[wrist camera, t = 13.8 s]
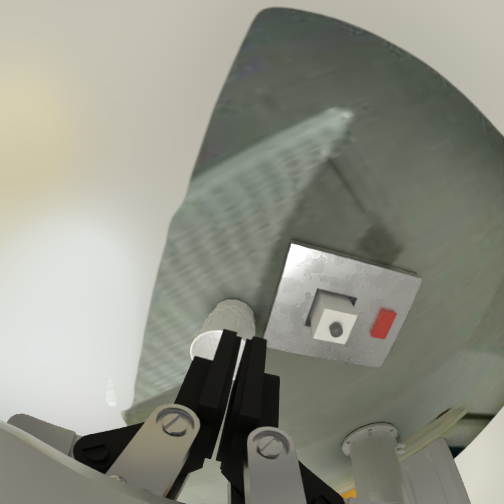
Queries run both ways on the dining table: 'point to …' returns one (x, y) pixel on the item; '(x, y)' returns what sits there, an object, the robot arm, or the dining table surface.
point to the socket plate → (346, 283)
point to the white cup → (224, 317)
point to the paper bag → (433, 476)
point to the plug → (332, 317)
